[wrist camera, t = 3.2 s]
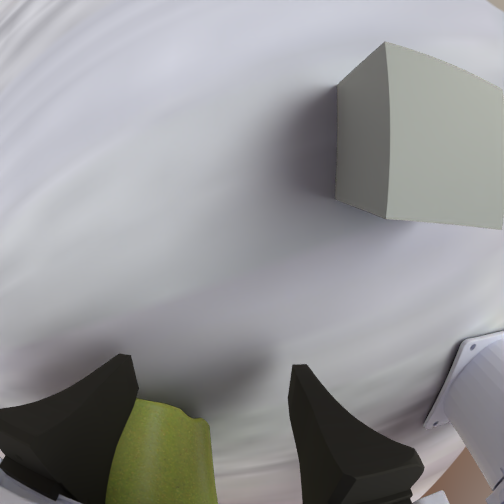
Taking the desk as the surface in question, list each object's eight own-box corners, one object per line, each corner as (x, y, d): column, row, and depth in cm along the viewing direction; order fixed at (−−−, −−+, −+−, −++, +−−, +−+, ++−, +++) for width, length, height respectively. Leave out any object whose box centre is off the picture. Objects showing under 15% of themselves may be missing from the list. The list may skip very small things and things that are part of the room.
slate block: (432, 106, 10) (502, 89, 6) (430, 207, 12) (501, 229, 7) (336, 85, 10) (384, 41, 6) (334, 199, 12) (385, 219, 7)
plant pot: (234, 444, 17) (232, 553, 10) (105, 424, 16) (89, 526, 9) (249, 394, 11) (249, 584, 4) (50, 360, 10) (9, 518, 4)
